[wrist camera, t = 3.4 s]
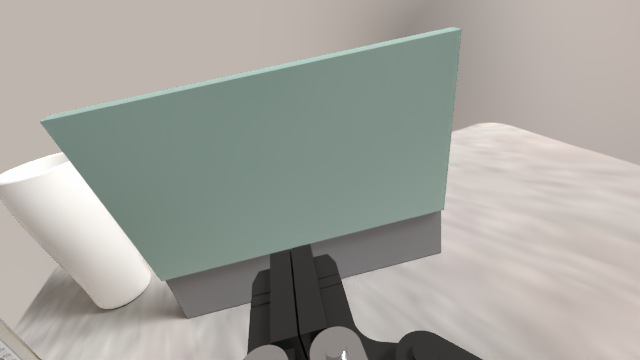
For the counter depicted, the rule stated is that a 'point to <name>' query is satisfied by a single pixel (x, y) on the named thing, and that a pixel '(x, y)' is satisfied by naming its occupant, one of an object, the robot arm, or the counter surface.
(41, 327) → the counter surface
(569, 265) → the counter surface
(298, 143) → the panel
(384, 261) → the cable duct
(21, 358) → the coffee box
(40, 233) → the white tapered cylinder
